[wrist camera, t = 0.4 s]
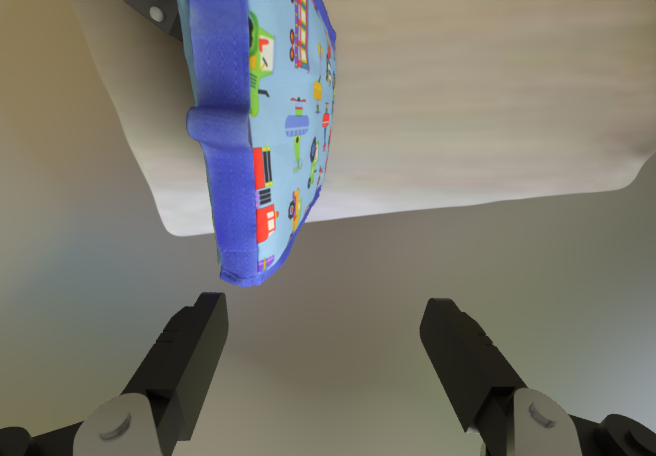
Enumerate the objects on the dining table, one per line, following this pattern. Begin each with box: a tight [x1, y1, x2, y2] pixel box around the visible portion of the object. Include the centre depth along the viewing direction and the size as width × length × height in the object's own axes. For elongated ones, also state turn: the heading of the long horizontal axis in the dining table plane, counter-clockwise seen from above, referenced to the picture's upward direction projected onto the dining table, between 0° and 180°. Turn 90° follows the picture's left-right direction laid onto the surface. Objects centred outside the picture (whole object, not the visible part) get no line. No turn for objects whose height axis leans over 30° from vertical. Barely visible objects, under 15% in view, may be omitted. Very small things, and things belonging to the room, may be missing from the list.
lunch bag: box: [177, 0, 336, 287], centre depth 25 cm, size 22×14×29 cm, turn 174°
